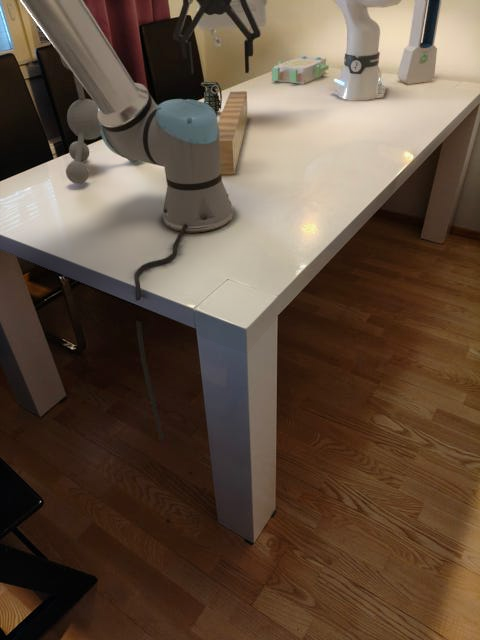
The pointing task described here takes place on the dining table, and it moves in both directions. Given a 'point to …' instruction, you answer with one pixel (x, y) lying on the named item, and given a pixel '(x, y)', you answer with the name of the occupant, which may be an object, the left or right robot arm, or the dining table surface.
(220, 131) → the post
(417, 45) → the electronic device
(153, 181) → the dining table surface
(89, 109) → the molecular model
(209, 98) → the grenade
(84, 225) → the dining table surface
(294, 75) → the white green flat box
